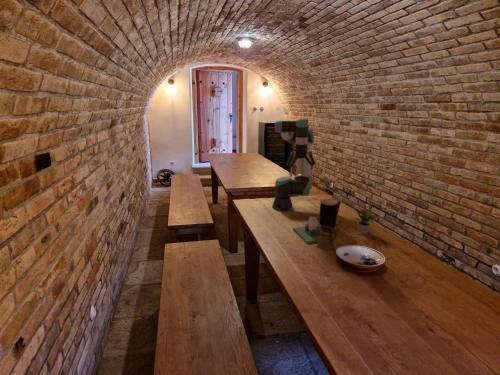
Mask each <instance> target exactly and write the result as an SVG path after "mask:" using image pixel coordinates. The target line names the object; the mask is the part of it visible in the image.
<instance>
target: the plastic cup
mask: <svg viewBox="0 0 500 375" xmlns="http://www.w3.org/2000/svg"><path fill="white" fill-rule="evenodd" d="M328 199H333V200H336V201H337V202H338V203H337V216H338V214H339V211H340V207H341V203H342V201H343V200H342V199H341V198H337V197H330V198H328Z"/></svg>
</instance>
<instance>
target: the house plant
mask: <svg viewBox="0 0 500 375" xmlns="http://www.w3.org/2000/svg"><path fill="white" fill-rule="evenodd" d="M366 209H367V207H364V211H363V209H360V210H359V209H358V210H357V209H356V210H355V211H354V212H355V213H357V216H358V217H355V218H354V220H355V221H358V222H357V227H358V228H357V230H358V233H359V234H360V235H367V234H368V233H369V229H370V226H371V223H370V222H372V223H375V222H376V220H375V219H377V217H376V216H373V215H374V214H375V213H376V211H374V212H372V213H370V212H371V211H372V210H371V208H368V209H367V210H366ZM359 211H360V212H361V213H360V212H359ZM369 213H370V214H369Z"/></svg>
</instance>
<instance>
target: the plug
mask: <svg viewBox="0 0 500 375" xmlns="http://www.w3.org/2000/svg"><path fill="white" fill-rule="evenodd" d="M308 218H309V220H308V223H309V232H310V230H312V229H316V228H317V223H318V218H316V217H315V216H309V217H308Z"/></svg>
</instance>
